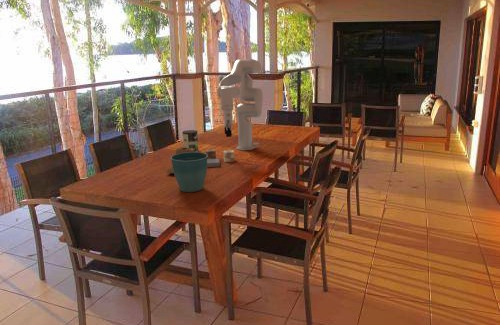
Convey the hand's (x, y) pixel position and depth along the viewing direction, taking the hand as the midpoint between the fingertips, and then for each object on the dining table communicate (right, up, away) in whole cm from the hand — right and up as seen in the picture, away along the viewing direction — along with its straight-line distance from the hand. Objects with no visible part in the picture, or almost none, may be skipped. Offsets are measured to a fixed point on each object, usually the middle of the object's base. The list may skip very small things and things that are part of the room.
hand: (228, 135), depth 272 cm
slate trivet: (-10, -18, -5) cm, 22 cm away
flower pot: (-16, -30, -51) cm, 62 cm away
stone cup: (-25, -23, -22) cm, 40 cm away
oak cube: (0, -16, +4) cm, 16 cm away
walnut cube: (-11, -15, +8) cm, 20 cm away
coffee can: (-27, -9, +32) cm, 43 cm away
